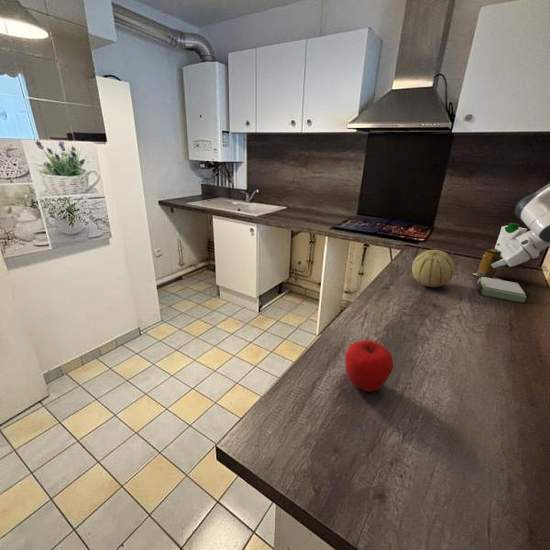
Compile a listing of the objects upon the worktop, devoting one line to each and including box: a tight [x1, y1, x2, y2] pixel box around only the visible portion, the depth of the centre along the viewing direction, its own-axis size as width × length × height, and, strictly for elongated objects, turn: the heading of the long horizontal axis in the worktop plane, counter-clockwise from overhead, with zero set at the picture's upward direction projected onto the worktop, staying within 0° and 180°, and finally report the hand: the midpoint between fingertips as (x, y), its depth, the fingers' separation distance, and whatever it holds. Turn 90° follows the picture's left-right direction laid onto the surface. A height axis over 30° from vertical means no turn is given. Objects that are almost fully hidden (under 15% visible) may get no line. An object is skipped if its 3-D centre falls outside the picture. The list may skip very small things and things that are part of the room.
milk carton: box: [494, 222, 528, 267], centre depth 141 cm, size 9×9×20 cm
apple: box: [344, 339, 394, 393], centre depth 63 cm, size 10×10×11 cm
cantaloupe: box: [411, 249, 456, 288], centre depth 114 cm, size 15×15×15 cm
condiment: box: [471, 248, 502, 280], centre depth 124 cm, size 7×8×12 cm
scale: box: [477, 277, 527, 304], centre depth 112 cm, size 13×12×3 cm
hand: (490, 262), depth 124 cm, fingers open, 8 cm apart
